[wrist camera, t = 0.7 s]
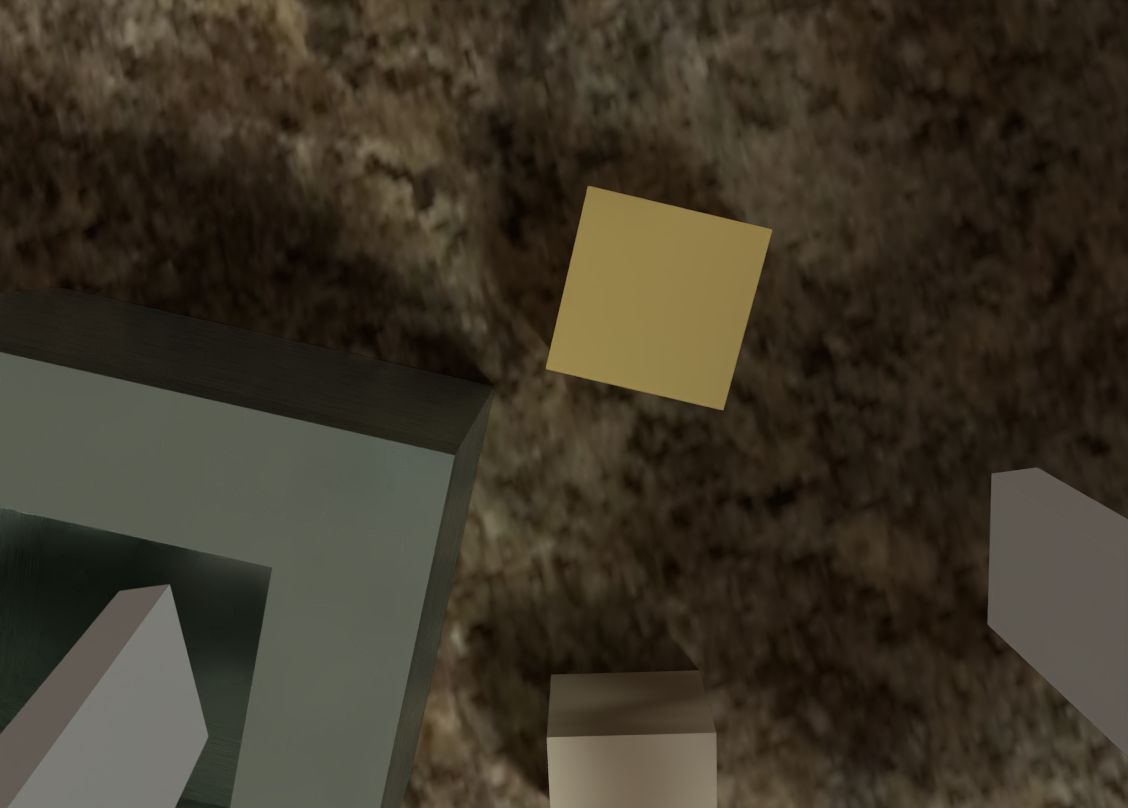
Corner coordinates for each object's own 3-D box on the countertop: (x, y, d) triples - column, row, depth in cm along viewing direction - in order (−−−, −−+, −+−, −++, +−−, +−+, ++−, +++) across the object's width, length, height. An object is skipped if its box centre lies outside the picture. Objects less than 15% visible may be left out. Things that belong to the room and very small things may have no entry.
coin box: (494, 386, 29) (455, 455, 20) (410, 774, 31) (342, 988, 22) (59, 286, 28) (-179, 311, 19) (11, 686, 31) (-218, 869, 22)
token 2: (698, 668, 30) (716, 732, 26) (701, 801, 31) (717, 883, 27) (551, 672, 31) (546, 737, 27) (557, 805, 31) (554, 886, 28)
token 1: (745, 230, 28) (772, 229, 24) (704, 386, 29) (722, 410, 25) (587, 192, 28) (587, 185, 24) (551, 350, 28) (545, 368, 25)
